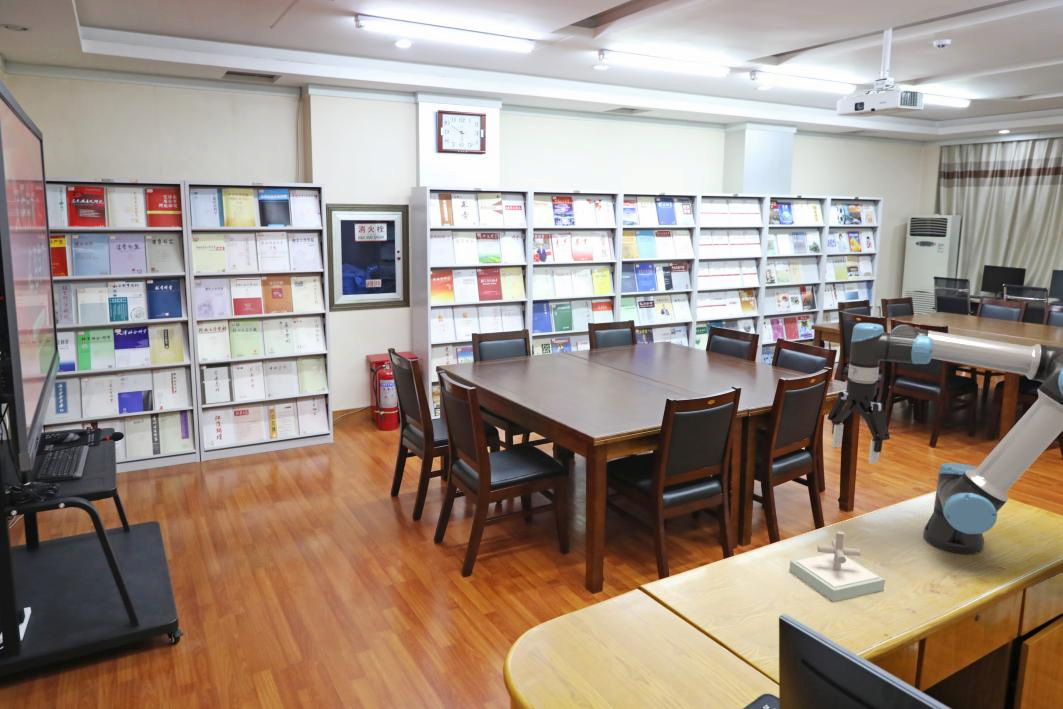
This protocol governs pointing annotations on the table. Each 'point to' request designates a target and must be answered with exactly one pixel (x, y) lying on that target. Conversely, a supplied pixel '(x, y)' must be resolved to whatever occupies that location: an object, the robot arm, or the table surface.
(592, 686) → the table surface
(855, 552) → the pipe connector
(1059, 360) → the robot arm
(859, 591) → the stand
